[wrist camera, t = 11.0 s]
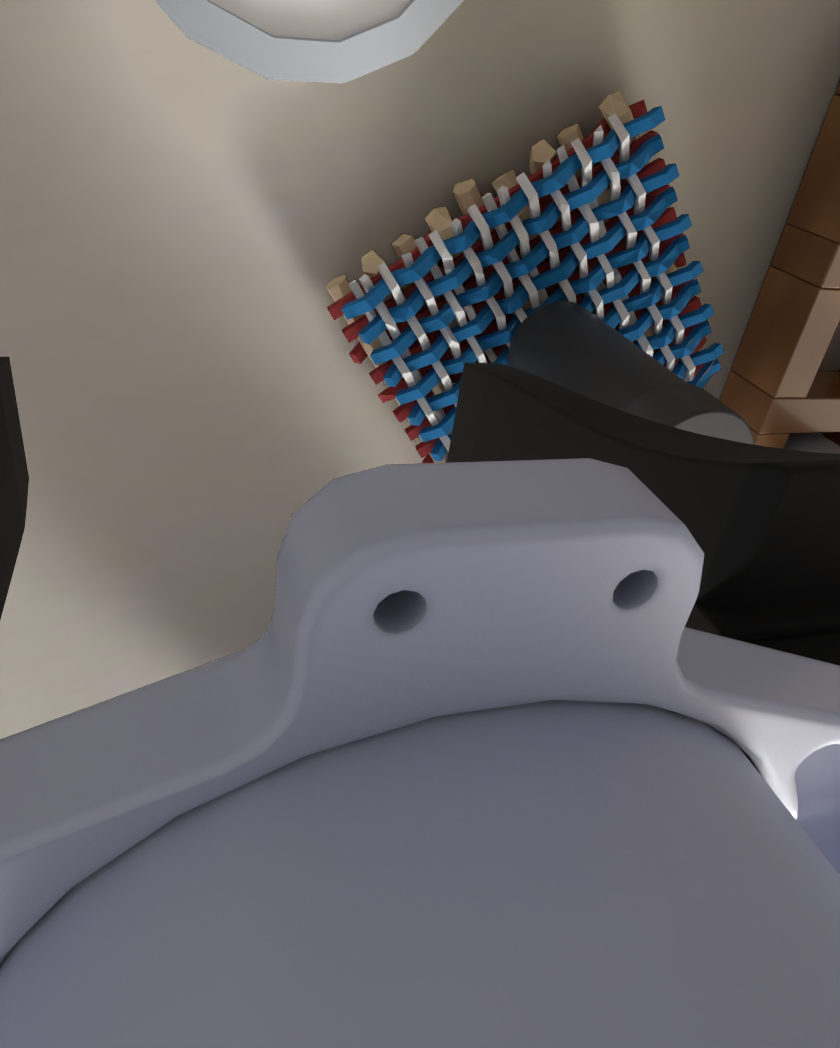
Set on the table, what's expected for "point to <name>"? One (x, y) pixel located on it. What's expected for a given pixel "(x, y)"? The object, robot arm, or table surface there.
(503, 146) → the table surface
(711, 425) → the cylinder
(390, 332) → the woven mat
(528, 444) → the robot arm
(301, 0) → the white cylinder
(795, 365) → the marker stand
